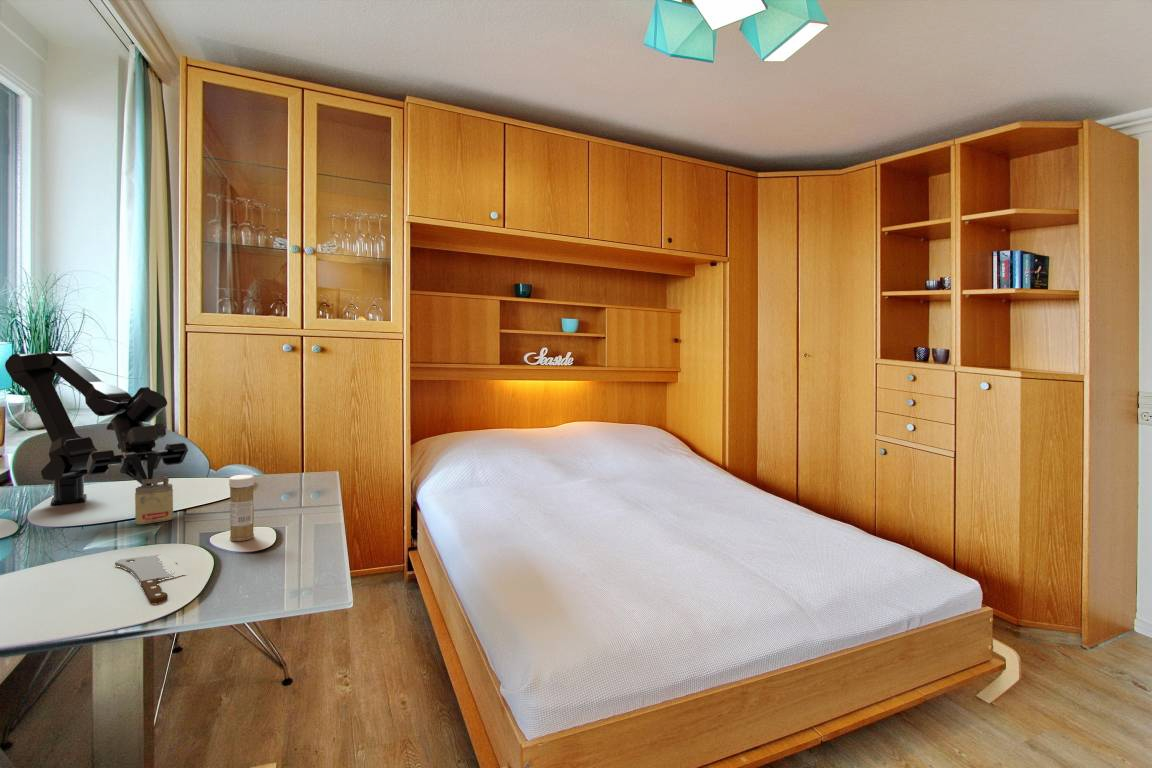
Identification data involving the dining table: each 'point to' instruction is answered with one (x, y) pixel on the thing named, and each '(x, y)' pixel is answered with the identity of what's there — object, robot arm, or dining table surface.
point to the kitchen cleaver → (147, 575)
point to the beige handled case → (154, 501)
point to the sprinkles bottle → (241, 507)
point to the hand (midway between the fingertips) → (149, 486)
